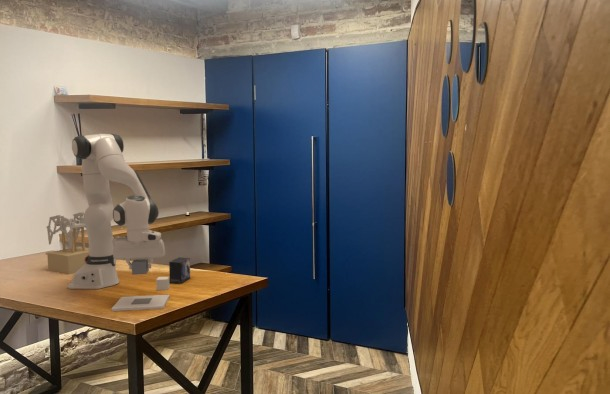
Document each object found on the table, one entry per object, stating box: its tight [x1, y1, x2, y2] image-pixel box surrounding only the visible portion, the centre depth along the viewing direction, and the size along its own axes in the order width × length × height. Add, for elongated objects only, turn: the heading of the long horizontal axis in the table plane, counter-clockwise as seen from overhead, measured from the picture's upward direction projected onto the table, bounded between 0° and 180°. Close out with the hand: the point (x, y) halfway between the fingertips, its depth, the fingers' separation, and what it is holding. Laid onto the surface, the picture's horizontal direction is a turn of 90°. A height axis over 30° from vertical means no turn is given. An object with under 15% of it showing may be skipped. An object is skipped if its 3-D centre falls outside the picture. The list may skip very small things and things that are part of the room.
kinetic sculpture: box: [45, 211, 89, 275], centre depth 265 cm, size 25×20×30 cm
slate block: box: [130, 258, 150, 276], centre depth 202 cm, size 6×6×5 cm
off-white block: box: [155, 276, 171, 291], centre depth 225 cm, size 5×5×5 cm
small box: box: [168, 257, 191, 284], centre depth 239 cm, size 11×6×10 cm, turn 168°
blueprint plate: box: [111, 294, 171, 312], centre depth 203 cm, size 20×16×1 cm
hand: (140, 268), depth 202 cm, fingers closed on slate block, 5 cm apart
